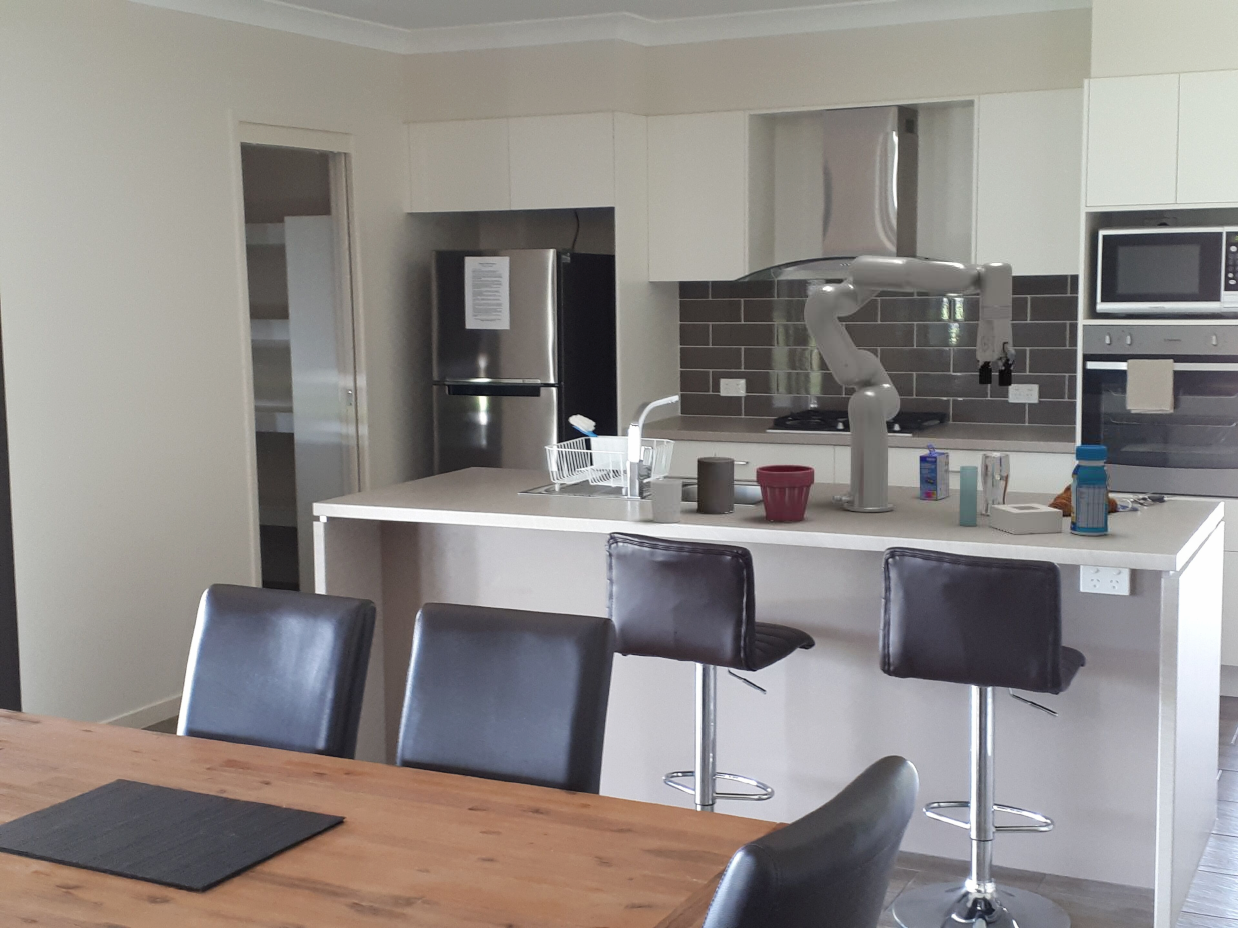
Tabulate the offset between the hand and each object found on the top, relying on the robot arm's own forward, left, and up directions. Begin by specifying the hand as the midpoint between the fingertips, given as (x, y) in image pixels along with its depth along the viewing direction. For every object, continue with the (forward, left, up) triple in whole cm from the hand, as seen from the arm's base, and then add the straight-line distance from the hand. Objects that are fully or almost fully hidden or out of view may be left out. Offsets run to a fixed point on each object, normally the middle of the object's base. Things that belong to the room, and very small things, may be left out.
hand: (995, 385), depth 324 cm
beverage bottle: (+11, -26, -33) cm, 43 cm away
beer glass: (+4, +6, -33) cm, 34 cm away
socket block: (0, -17, -33) cm, 37 cm away
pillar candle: (-62, +29, -33) cm, 76 cm away
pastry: (+26, +2, -33) cm, 42 cm away
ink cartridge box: (+2, +37, -33) cm, 50 cm away
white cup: (-78, +17, -33) cm, 87 cm away
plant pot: (-49, +12, -33) cm, 60 cm away
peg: (-10, -8, -33) cm, 35 cm away
